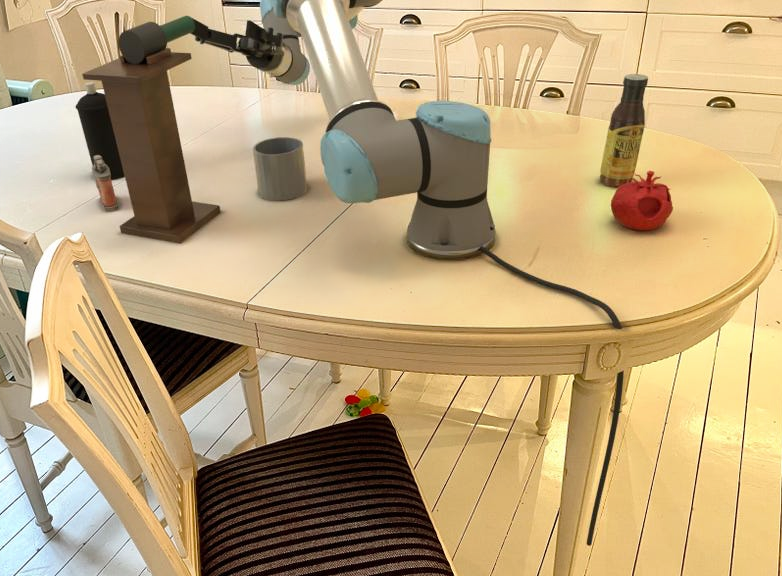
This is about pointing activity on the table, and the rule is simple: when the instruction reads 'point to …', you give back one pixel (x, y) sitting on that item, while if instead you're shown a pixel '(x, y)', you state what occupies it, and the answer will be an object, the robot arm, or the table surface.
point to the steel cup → (280, 168)
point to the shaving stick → (152, 38)
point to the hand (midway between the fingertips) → (217, 26)
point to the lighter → (104, 184)
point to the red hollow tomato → (642, 203)
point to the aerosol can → (99, 130)
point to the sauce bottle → (625, 133)
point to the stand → (151, 147)
